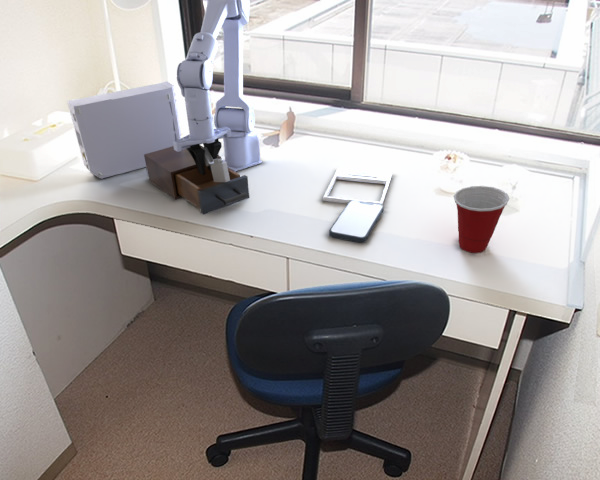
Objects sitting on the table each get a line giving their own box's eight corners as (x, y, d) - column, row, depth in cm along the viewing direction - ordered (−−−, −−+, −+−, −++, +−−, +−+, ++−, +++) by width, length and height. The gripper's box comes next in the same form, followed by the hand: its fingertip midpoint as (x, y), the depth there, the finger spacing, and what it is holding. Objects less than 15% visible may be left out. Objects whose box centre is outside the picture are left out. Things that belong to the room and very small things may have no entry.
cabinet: (223, 183, 146) (220, 156, 142) (175, 199, 139) (170, 172, 134) (196, 166, 155) (192, 140, 151) (149, 180, 148) (143, 154, 143)
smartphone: (365, 245, 121) (385, 211, 132) (365, 239, 120) (385, 205, 131) (326, 237, 124) (349, 205, 135) (327, 231, 123) (349, 199, 134)
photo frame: (392, 171, 147) (382, 202, 133) (392, 175, 148) (382, 206, 134) (338, 166, 150) (323, 196, 136) (338, 170, 151) (323, 200, 137)
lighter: (230, 180, 132) (223, 146, 129) (225, 182, 131) (218, 148, 127) (210, 179, 136) (202, 146, 133) (205, 181, 135) (197, 148, 132)
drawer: (260, 204, 134) (259, 183, 131) (214, 222, 128) (211, 200, 124) (220, 180, 146) (217, 159, 142) (175, 195, 139) (172, 174, 136)
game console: (186, 157, 160) (176, 86, 148) (93, 181, 148) (73, 106, 136) (178, 150, 164) (167, 81, 152) (86, 174, 152) (66, 100, 140)
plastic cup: (447, 230, 125) (456, 181, 117) (497, 236, 122) (509, 186, 115) (443, 255, 117) (451, 204, 109) (497, 263, 114) (509, 211, 107)
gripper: (180, 128, 121) (188, 186, 129) (236, 113, 128) (240, 169, 136) (165, 120, 125) (174, 176, 133) (219, 106, 132) (225, 160, 141)
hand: (206, 172), depth 135 cm, fingers closed on lighter, 2 cm apart
